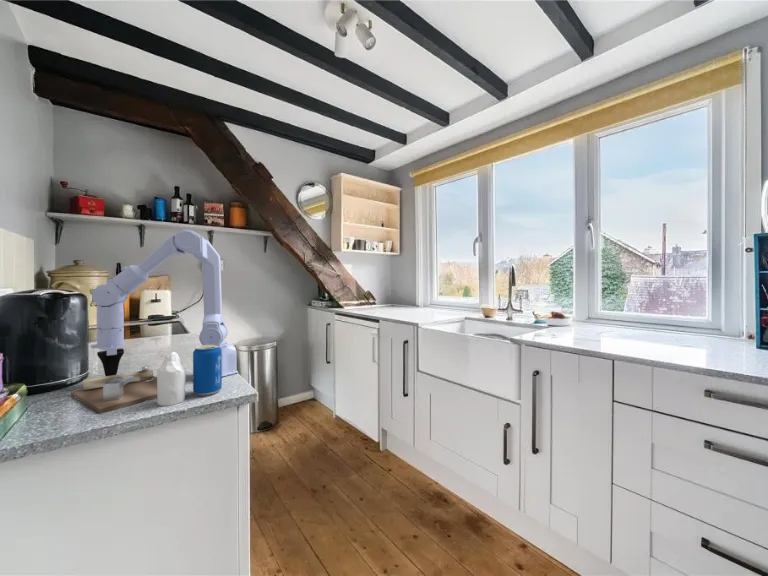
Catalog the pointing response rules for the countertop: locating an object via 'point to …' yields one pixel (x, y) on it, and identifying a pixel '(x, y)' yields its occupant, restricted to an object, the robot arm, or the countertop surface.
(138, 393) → the wooden cutting board
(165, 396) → the white bottle
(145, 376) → the link
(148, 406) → the countertop surface
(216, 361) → the beverage can
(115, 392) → the keeper
